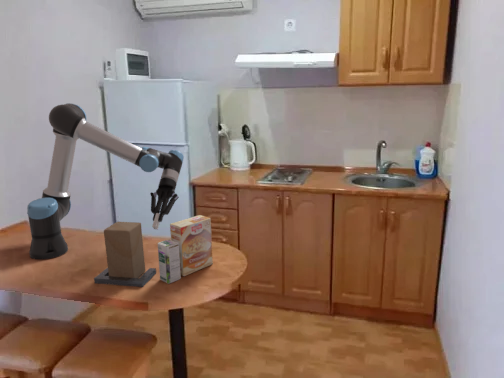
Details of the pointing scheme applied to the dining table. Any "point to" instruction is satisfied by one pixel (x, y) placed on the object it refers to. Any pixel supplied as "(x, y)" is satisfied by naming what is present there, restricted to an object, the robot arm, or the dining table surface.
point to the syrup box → (169, 261)
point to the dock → (125, 279)
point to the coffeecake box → (193, 243)
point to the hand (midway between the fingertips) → (154, 228)
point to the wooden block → (124, 249)
